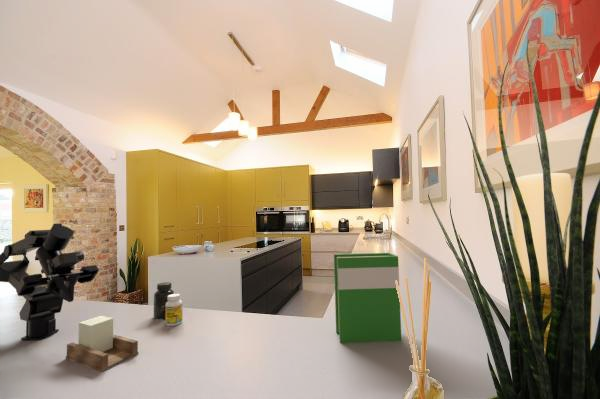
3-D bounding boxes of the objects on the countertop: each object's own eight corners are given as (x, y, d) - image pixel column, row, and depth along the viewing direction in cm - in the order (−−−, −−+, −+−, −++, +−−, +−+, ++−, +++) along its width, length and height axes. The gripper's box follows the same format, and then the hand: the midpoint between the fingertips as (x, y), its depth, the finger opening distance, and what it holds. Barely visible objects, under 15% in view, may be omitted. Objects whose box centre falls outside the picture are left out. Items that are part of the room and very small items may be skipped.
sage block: (78, 353, 74) (78, 322, 75) (100, 344, 79) (101, 315, 80) (90, 357, 72) (90, 325, 72) (112, 347, 77) (113, 318, 77)
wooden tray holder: (65, 358, 73) (66, 344, 74) (102, 343, 82) (103, 331, 82) (101, 372, 67) (102, 356, 67) (138, 354, 75) (138, 340, 75)
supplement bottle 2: (183, 319, 99) (183, 292, 100) (180, 325, 94) (180, 296, 94) (167, 321, 98) (167, 293, 99) (163, 327, 93) (163, 298, 93)
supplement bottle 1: (165, 320, 99) (165, 286, 100) (149, 319, 100) (149, 285, 101) (177, 313, 106) (177, 281, 106) (162, 312, 107) (162, 281, 108)
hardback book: (340, 343, 79) (337, 258, 80) (336, 332, 86) (333, 254, 87) (401, 340, 79) (398, 256, 80) (392, 330, 87) (389, 252, 88)
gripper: (22, 246, 76) (41, 291, 71) (96, 240, 93) (116, 276, 88) (8, 273, 79) (25, 318, 74) (82, 262, 96) (101, 298, 91)
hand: (71, 300), depth 81 cm, fingers closed
